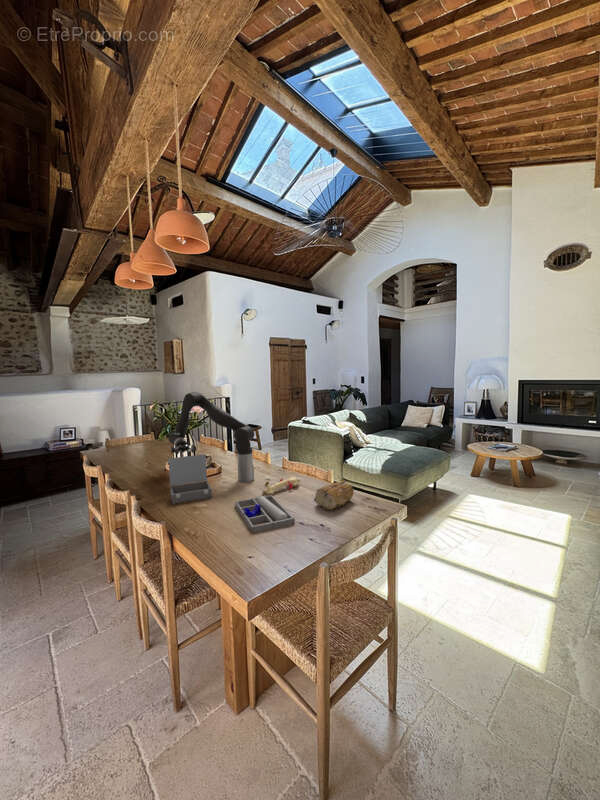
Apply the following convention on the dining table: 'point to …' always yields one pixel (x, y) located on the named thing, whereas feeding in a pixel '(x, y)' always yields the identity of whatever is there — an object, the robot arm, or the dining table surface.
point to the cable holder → (254, 512)
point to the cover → (187, 469)
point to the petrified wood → (334, 495)
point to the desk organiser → (263, 515)
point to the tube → (271, 509)
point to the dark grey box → (190, 492)
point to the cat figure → (280, 485)
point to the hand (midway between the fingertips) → (185, 452)
